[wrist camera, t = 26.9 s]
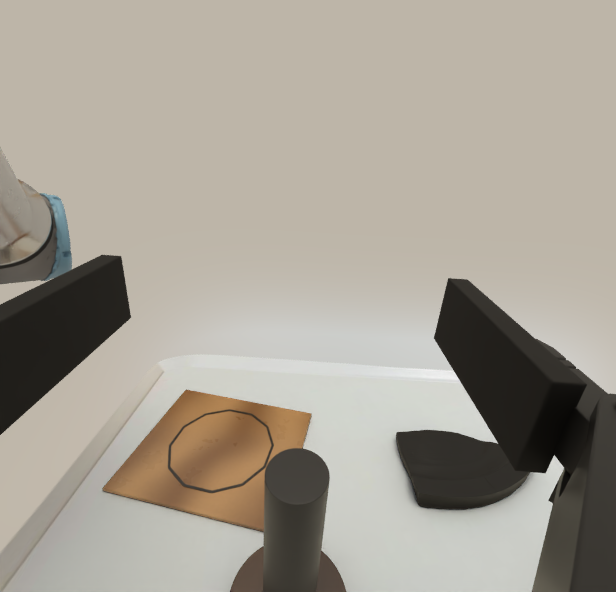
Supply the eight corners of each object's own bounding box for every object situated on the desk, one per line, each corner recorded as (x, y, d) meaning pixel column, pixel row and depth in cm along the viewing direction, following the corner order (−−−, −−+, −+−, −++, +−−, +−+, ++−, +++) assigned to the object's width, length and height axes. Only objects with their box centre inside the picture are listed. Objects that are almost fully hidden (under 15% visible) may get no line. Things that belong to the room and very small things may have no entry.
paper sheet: (102, 490, 30) (102, 488, 30) (186, 391, 43) (185, 389, 43) (278, 535, 28) (278, 532, 27) (311, 415, 40) (311, 413, 40)
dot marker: (255, 628, 21) (255, 495, 17) (271, 568, 24) (275, 442, 20) (308, 644, 21) (324, 511, 16) (318, 581, 24) (333, 454, 19)
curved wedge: (563, 513, 31) (570, 501, 30) (414, 508, 30) (417, 495, 30) (512, 440, 38) (516, 429, 38) (392, 435, 38) (394, 424, 37)
